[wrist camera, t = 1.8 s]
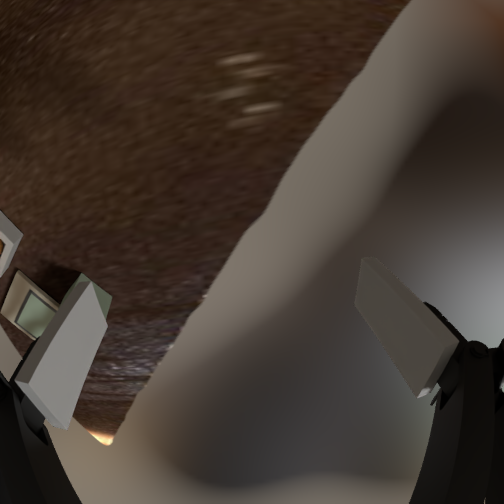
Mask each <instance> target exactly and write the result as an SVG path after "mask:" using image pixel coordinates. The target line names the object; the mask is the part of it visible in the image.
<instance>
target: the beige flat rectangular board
mask: <svg viewBox="0 0 504 504" xmlns="http://www.w3.org/2000/svg"><path fill="white" fill-rule="evenodd" d="M59 306H60V304H59V303H57V302H56V301H55V300H54V299H52V298H51V297H50V296H49V295H48V294H46V293H45V292H44V291H43V290H41V289H40V288H39V287H38V286H37V285H36V284H34V283H33V282H32V281H31V280H30V279H29V278H28V277H27V276H25V275H24V274H23V273H22V272H21V271H20V270H18V271H17V273H16V275H15V278H14V280H13V282H12V284H11V287H10V289H9V292H8V294H7V297H6V299H5V302H4V304H3V307H2V310H1V314H2V315H4V316H5V317H6V318H7V319H8V320H9V321H11V322H12V323H13V324H14V325H15V326H17V327H18V328H19V329H20V330H22V331H23V332H24V333H25V334H27V335H28V336H29V337H31V338H32V339H33V340H36V339H37V338H38V337H39V336H41V335H42V333H43V332H44V330H45V329H46V327H47V326H48V324H49V323H50V321H51V320H52V318H53V317H54V315H55V314H56V312H57V311H58V309H59Z"/></svg>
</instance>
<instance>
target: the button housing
mask: <svg viewBox="0 0 504 504" xmlns="http://www.w3.org/2000/svg"><path fill="white" fill-rule="evenodd" d="M22 236H23V234H22V233H21V232H20V231H19V230H18V229H17V228H16V227H15V225H14V224H13V223H12V222H11V221H10V220H9V219H8V218H7V217H6V216H5V215H4V214H3V213H2V212H1V211H0V239H1V240H2V242H3V251H2V253H1V255H0V277H1V276H2V275H3V273H4V272H5V271H6V270H7V268H8V267H9V264H10V262H11V260H12V258H13V255H14V253H15V251H16V249H17V247H18V244H19V242H20V240H21V238H22Z"/></svg>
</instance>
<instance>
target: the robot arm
mask: <svg viewBox="0 0 504 504" xmlns="http://www.w3.org/2000/svg"><path fill="white" fill-rule="evenodd" d="M354 305H355V307H356V308H357V309H358V311H359V312H360V314H361V315H362V317H363V318H364V319H365V321H366V322H367V324H368V325H369V327H370V328H371V329H372V331H373V333H374V334H375V335H376V337H377V338H378V340H379V341H380V343H381V344H382V346H383V347H384V349H385V350H386V352H387V353H388V355H389V356H390V358H391V359H392V361H393V362H394V364H395V365H396V367H397V369H398V370H399V372H400V373H401V375H402V376H403V378H404V379H405V381H406V383H407V384H408V385H409V387H410V389H411V390H412V392H413V394H414V395H415V397H416V398H419V397H422V396H424V395H426V394H428V393H431V391H432V390H433V388H434V386H435V385H436V383H438V384H439V386H440V387H441V388H440V389H439V391H438V393H437V394H436V396H435V397H434V398H433V400H432V402H431V404H430V405H433V404H434V403H435V401H436V400H437V402H436V407H435V413H434V419H433V424H432V428H431V433H430V438H429V442H428V446H427V450H426V454H425V457H424V461H423V464H422V468H421V471H420V474H419V477H418V480H417V483H416V486H415V489H414V491H413V494H412V497H411V499H410V502H409V504H484V500H485V504H504V392H503V391H502V386H503V385H504V339H502V341H501V343H500V345H499V347H497V348H489V349H488V347H487V346H486V345H485V344H483V343H481V342H479V341H469V342H468V341H467V340H466V339H465V338H464V337H463V336H462V335H461V333H459V331H458V330H457V329H456V328H455V327H454V326H453V325H452V324H451V323H450V322H448V320H447V319H446V318H445V317H444V316H442V314H441V313H440V312H439V311H438V310H437V309H436V308H435V307H434V306H432V305H430V304H428V303H427V302H422V301H421V300H420V299H419V298H418V297H417V296H416V295H415V294H414V293H413V292H412V291H411V290H410V289H409V288H408V287H407V286H405V285H404V284H403V283H402V282H401V281H400V280H399V279H398V278H397V277H396V276H395V275H394V274H393V273H392V272H391V271H390V270H388V268H386V267H385V266H384V265H383V264H382V263H381V262H380V261H379V260H378V259H376V258H375V257H368V258H362V260H361V267H360V273H359V280H358V286H357V292H356V297H355V303H354ZM107 327H108V326H107V323H106V321H105V318H104V315H103V313H102V310H101V307H100V305H99V302H98V299H97V296H96V293H95V291H94V288H93V285H92V282H91V281H86V282H79V283H78V284H77V285H76V287H75V288H74V289H73V290H72V292H71V293H70V294H69V296H68V297H67V299H66V300H65V301H64V303H63V304H62V305H61V307H60V308H59V310H58V311H57V312H56V314H55V315H54V317H53V318H52V320H51V321H50V323H49V324H48V326H47V327H46V329H45V330H44V332H43V333H42V335H41V336H39V337H38V338H37V339H36V340H35V341H34V342H32V343H31V345H30V347H29V348H28V350H27V351H26V352H27V353H25V355H24V356H23V360H21V361H20V363H19V365H18V367H17V368H16V370H15V372H14V374H13V375H12V377H11V379H10V381H9V382H8V381H7V380H6V378H5V377H4V376H3V374H2V373H1V371H0V504H82V503H81V501H80V499H79V497H78V496H77V494H76V492H75V490H74V488H73V487H72V485H71V483H70V481H69V479H68V477H67V475H66V473H65V471H64V469H63V466H62V464H61V462H60V460H59V457H58V455H57V453H56V450H55V448H54V445H53V443H52V440H51V438H50V435H49V433H48V430H47V428H46V426H45V425H44V424H43V423H44V420H45V418H46V419H47V420H48V422H49V423H50V424H51V425H52V426H53V427H57V428H61V429H65V430H68V426H69V424H70V420H71V417H72V414H73V411H74V409H75V406H76V403H77V400H78V397H79V394H80V392H81V389H82V386H83V384H84V381H85V379H86V376H87V373H88V371H89V368H90V366H91V363H92V361H93V359H94V356H95V354H96V352H97V349H98V347H99V345H100V342H101V340H102V338H103V336H104V333H105V331H106V329H107Z"/></svg>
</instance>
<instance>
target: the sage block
mask: <svg viewBox="0 0 504 504" xmlns="http://www.w3.org/2000/svg"><path fill="white" fill-rule="evenodd" d="M86 281H91V280H90V279H89V278H87V277H86V276H85V275H84V274H82V273H81V274H80V276H79V277H78V278H77V280H76V281H75V282H74V284H73V285H72V286H71V288H70V289H69V290H68V292H67V293H66V295H65V296H64V298H63V300H62V302H61V304H60V306H59V308H60V307H61V305H62V304H63V303H64V301H65V300H66V299H67V297H68V296H69V294H70V293H71V292H72V290H73V289H74V288H75V287H76V285H77V284H78V283H79V282H86ZM91 282H92V281H91ZM92 285H93V288H94V291H95V293H96V296H97V299H98V302H99V305H100V307H101V310H102V313H103V315H104V318H105V320H106V316H107V313H108V310H109V306H110V303H111V300H112V296H111V295H109V294H108V293H107V292H105V291H104V290H103V289H101V288H100V287H99V286H98V285H96V284H95V283H94V282H92ZM58 310H59V309H58Z"/></svg>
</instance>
